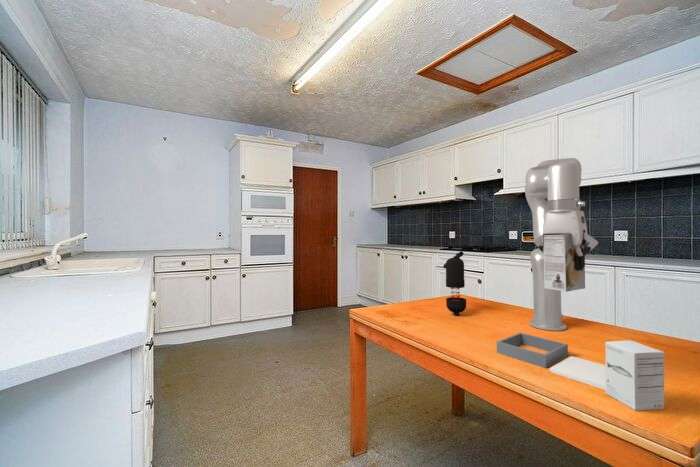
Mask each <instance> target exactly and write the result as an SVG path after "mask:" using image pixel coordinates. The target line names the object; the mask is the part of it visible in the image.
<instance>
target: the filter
mask: <svg viewBox="0 0 700 467" xmlns="http://www.w3.org/2000/svg"><path fill="white" fill-rule="evenodd" d="M463 255H464V252H463V251H461V250H460V251H459V252H457V253H455V255H454V256H453V257H450V258H448V259H447V260H446V262H445V263H444V264H443V268H444V269H445V287H446V288H450V289H451V290H455V289H457V290H460V289H462V288H465V287H466V286H465V262H464V261H463V259H461V258H462V257H463ZM451 294H454V291H451ZM455 294H456V296H454V295H451V297H450V296H449V297H447V298H445V304H446V305H445V306H446V309H447V310H448V311H450V312H452V313H453V316H455V317H459V316H460V313H462V312H464V311H465V310H466V309H467V299H466V298H464V297H460V295H458V294H460V291H457V292H455Z"/></svg>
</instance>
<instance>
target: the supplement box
mask: <svg viewBox="0 0 700 467" xmlns="http://www.w3.org/2000/svg"><path fill="white" fill-rule="evenodd" d="M605 365H606V390H605V394H606V395H607V396H610V397H612V398H613V399H615V400H616V401H618V402H620V403H622V404H623V405H626V406H627V407H629V408H630V409H632V410H634V411H648V410H650V411H651V410H662V409H665V351H662V350H660V349H657V348H653V347H651V346H648V345H646V344H643V343H640V342H636V341H634V340H615V341H614V340H613V341H605Z"/></svg>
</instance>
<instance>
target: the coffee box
mask: <svg viewBox="0 0 700 467" xmlns="http://www.w3.org/2000/svg"><path fill="white" fill-rule="evenodd" d="M583 248H585V245H584V246H583ZM543 251H544V288H545V289H551V290H558V291H561V292H573V291H579V290H584V289H586V272H585V270H586V268H585V267H586V266H585V267H584V268H583V270H581V271H577V270H576V267H575V257H576V256H577V253H576V251H575V249H574V247H573V246H572V237H571V233H546V234H543Z"/></svg>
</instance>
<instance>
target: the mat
mask: <svg viewBox="0 0 700 467" xmlns="http://www.w3.org/2000/svg"><path fill="white" fill-rule="evenodd" d="M549 373H552V374H555V375H558V376H561V377H564V378H568V379H570V380H573V381H576V382H580V383H582V384H586V385H589V386H592V387H595V388H598V389H601V390H605V391H606V364H602V363H598V362H594V361H591V360H588V359H587V360H586V359H584V358H579V357H576V356H572V355H571V356H567V358H564V359H563V360H560V362H558V363H555V364H553V365H552V366H550V368H549Z"/></svg>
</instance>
